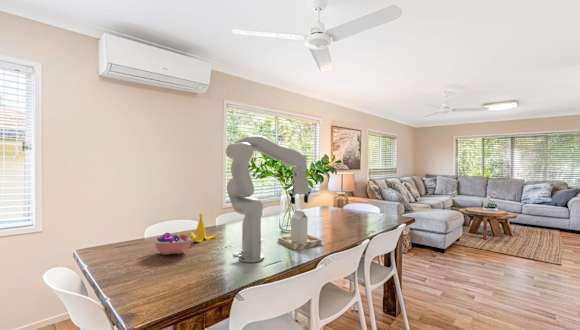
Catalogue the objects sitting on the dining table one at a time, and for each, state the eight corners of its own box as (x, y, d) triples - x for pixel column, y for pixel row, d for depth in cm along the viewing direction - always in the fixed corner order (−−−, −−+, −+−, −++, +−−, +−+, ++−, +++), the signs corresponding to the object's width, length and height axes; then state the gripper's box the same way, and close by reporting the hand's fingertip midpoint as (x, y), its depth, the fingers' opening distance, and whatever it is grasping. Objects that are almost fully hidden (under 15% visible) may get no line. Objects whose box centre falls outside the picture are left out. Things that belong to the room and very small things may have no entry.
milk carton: (300, 244, 165) (300, 212, 165) (291, 242, 170) (291, 210, 169) (307, 241, 171) (307, 210, 170) (298, 239, 175) (298, 209, 175)
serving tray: (294, 250, 158) (294, 245, 158) (277, 242, 172) (277, 237, 172) (321, 244, 169) (321, 239, 169) (303, 237, 184) (303, 232, 184)
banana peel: (192, 245, 167) (192, 217, 166) (189, 236, 184) (189, 211, 184) (220, 241, 174) (220, 214, 173) (215, 234, 191) (215, 209, 190)
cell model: (180, 260, 141) (180, 238, 141) (145, 257, 145) (145, 236, 145) (198, 250, 158) (198, 230, 157) (166, 247, 162) (166, 228, 161)
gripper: (291, 175, 161) (291, 205, 162) (315, 175, 171) (314, 203, 171) (284, 174, 168) (284, 203, 168) (307, 174, 177) (306, 201, 178)
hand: (299, 203), depth 170 cm, fingers open, 9 cm apart
